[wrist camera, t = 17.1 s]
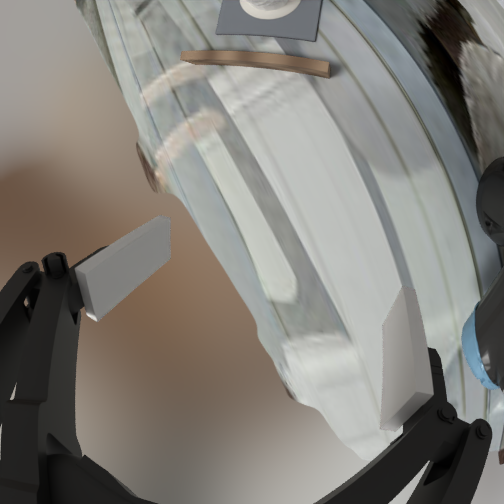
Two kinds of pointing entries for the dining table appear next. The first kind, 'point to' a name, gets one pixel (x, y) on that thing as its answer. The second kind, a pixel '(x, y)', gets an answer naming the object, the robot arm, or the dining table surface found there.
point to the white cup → (267, 4)
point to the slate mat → (270, 19)
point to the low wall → (258, 61)
